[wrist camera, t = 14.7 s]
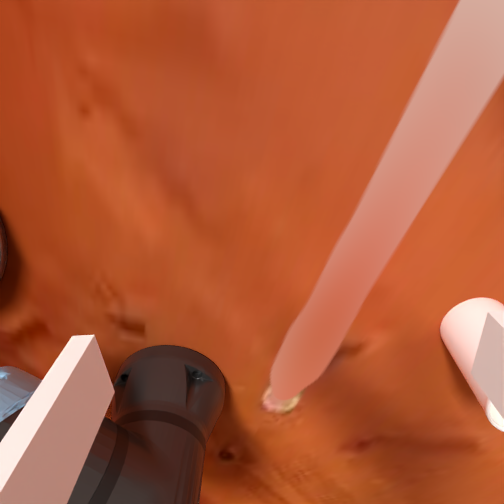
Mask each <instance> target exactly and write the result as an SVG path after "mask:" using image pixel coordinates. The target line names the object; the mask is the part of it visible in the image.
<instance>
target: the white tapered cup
mask: <svg viewBox="0 0 504 504" xmlns="http://www.w3.org/2000/svg"><path fill="white" fill-rule="evenodd" d="M490 311H504V305H503V304H502V303H501V302H499V301H497V300H495V299H491V298H484V297H481V298H473V299H469V300H466V301H464V302H461V303H459V304H458V305H456V306H455V307H453V308H452V309H451V310H450V311H449V312H448V313H447V314H446V315H445V317H444V318H443V320H442V322H441V325H440V335H441V338H442V340H443V342H444V344H445V346H446V347H447V349H448V351H449V353H450V354H451V356H452V358H453V359H454V361H455V363H456V364H457V366H458V368H459V369H460V371H461V373H462V375H463V376H464V378H465V380H466V381H467V383H468V385H469V386H470V388H471V390H472V391H473V393H474V395H475V396H476V398H477V400H478V401H479V403H480V405H481V407H482V408H483V410H484V412H485V414H486V416H487V418H488V420H489V421H490V423H491V424H492V425H493V426H494V427H496V428H497V429H499V430H501V431H503V432H504V419H503V418H502V417H501V415H500V414H499V412H498V411H497V410H496V408H495V407H494V405H493V404H492V403H491V401H490V400H489V398H488V397H487V395H486V394H485V393H484V391H483V390H482V388H481V387H480V386H479V384H478V383H477V381H476V380H475V379H474V377H473V376H472V374H471V370H472V367H473V363H474V359H475V356H476V352H477V349H478V345H479V341H480V338H481V334H482V331H483V327H484V323H485V320H486V316H487V313H488V312H490Z"/></svg>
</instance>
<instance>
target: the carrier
mask: <svg viewBox="0 0 504 504" xmlns="http://www.w3.org/2000/svg"><path fill="white" fill-rule="evenodd" d="M7 255H8V247H7V238H6V233H5V228H4V225H3V222H2V220H1V217H0V280H1V278H2V276H3V274H4V271H5V268H6V264H7Z"/></svg>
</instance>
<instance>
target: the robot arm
mask: <svg viewBox="0 0 504 504" xmlns="http://www.w3.org/2000/svg"><path fill="white" fill-rule="evenodd" d="M471 374H472V376H473V377H474V379H475V380H476V381H477V383H478V384H479V386H480V387H481V388H482V390H483V391H484V393H485V394H486V395H487V397H488V398H489V400H490V401H491V403H492V404H493V405H494V407H495V408H496V410H497V411H498V412H499V414H500V415H501V417H502V418H503V419H504V311H490V312H488V313H487V316H486V320H485V323H484V327H483V331H482V334H481V338H480V341H479V345H478V349H477V352H476V356H475V359H474V363H473V367H472V370H471ZM224 399H225V381H224V378H223V375H222V373H221V372H220V370H219V369H218V367H217V366H216V365H215V364H214V363H213V362H212V361H211V360H209V359H208V358H207V357H205V356H203V355H202V354H200V353H198V352H196V351H193V350H190V349H187V348H184V347H179V346H170V345H161V346H153V347H148V348H145V349H142V350H140V351H138V352H136V353H134V354H132V355H131V356H130V357H128V358H127V359H126V360H125V361H124V363H123V364H122V366H121V367H120V369H119V372H118V374H117V376H116V379H115V381H114V385H112V383H111V380H110V377H109V374H108V371H107V369H106V366H105V363H104V360H103V357H102V355H101V352H100V349H99V346H98V343H97V341H96V338H95V335H82V336H72V337H71V339H70V340H69V342H68V343H67V345H66V346H65V348H64V349H63V351H62V352H61V354H60V355H59V357H58V358H57V360H56V361H55V363H54V364H53V366H52V367H51V368H50V370H49V371H48V373H47V374H46V376H45V377H44V379H43V380H41V379H39V378H37V377H35V376H33V375H31V374H29V373H27V372H25V371H23V370H21V369H19V368H16V367H12V366H5V367H0V504H199V500H200V491H201V482H202V474H203V465H204V456H205V448H206V443H207V441H208V439H209V436H210V434H211V432H212V430H213V428H214V426H215V424H216V422H217V420H218V418H219V416H220V414H221V412H222V409H223V406H224ZM111 400H112V417H111V420H110V419H108V418H106V417H104V416H105V414H106V411H107V409H108V407H109V404H110V402H111Z"/></svg>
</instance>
